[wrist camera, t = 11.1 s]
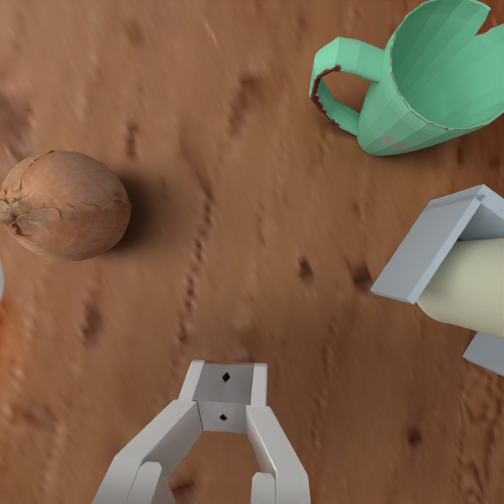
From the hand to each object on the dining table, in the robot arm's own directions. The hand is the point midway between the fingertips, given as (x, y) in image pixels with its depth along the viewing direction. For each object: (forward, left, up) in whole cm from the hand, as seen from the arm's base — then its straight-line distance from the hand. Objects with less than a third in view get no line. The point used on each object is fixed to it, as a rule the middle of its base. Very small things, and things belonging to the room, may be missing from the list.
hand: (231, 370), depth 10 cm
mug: (+23, 0, -16) cm, 28 cm away
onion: (-1, +17, -16) cm, 24 cm away
